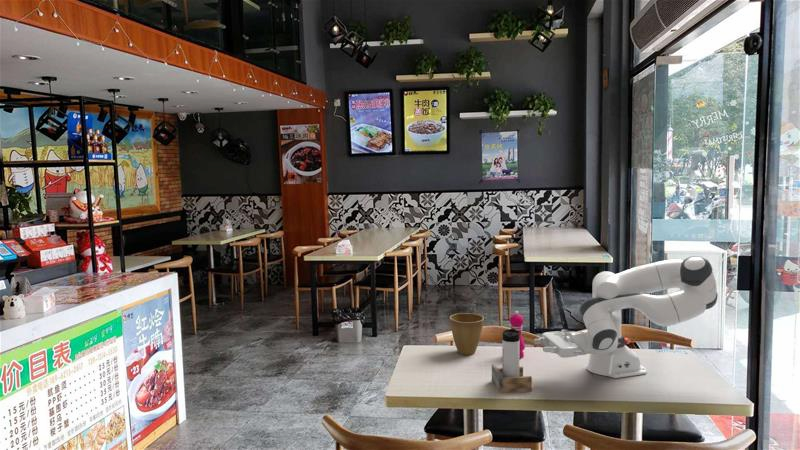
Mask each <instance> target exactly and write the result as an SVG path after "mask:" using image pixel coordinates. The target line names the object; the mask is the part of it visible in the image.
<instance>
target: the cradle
mask: <svg viewBox="0 0 800 450" xmlns="http://www.w3.org/2000/svg"><path fill="white" fill-rule="evenodd" d="M532 377H533V376H531V375H526V376H524V367H523V366H519V377H503V374H502V367H497V365H496V364H495V363H493V364H491V382H492V384H493V385H494V387H495V388H496V390H497V391H498V392H499V394H503V393H520V392H522V393H523V392H532V391H533V388H532V387H533V385H532V384H533V383H532V382H533V381H532V379H533V378H532Z"/></svg>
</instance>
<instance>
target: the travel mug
mask: <svg viewBox="0 0 800 450" xmlns="http://www.w3.org/2000/svg"><path fill="white" fill-rule="evenodd" d="M501 341H502V356H501V357H502V363H501V365H502V367H501V368H502V374H503V377H519V367H520V358H519V344H520V342H519V341H520V340H519V331H517V330H515V329H511V328H510V329H504V330H503V331H502V340H501Z"/></svg>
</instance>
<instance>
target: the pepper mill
mask: <svg viewBox="0 0 800 450" xmlns="http://www.w3.org/2000/svg"><path fill="white" fill-rule="evenodd" d="M509 323H510V329H515V330H517V331H519V340H520V341H519V342H520V344H519V359H522V358H524V357H525V352H524V351H525V349H526V344H525V341H524V339H523V335H522V331H523V324H524V316H522V315H521V314H519V311H518V310H515V311H514V314H512V315H511V316H510V317H509Z"/></svg>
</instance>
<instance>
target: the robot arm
mask: <svg viewBox="0 0 800 450" xmlns="http://www.w3.org/2000/svg"><path fill="white" fill-rule="evenodd" d="M709 261H710V260H708V259H707V258H706V257H704V256H701V255H693V256H688V257H686V258H685V259H683V260H682V259H667V260H660V261H655V262H651V263H647V264H646V263H645V264H643V265H642V264H641V265H638V266H634V267H631V268H630V269H629V268H628V269H626V270H624V271H621V272H618V273H614V272H612V271H607V270H606V271H605V270H604V271H601V272H599V273H597V274H596V275H595V276H594V277H593V279H592V288H591V289H592V290H591V291H592V293H591V295H592V297H591V298H587V299H585V300H584V301H583V302H582V304H581V305H580V307H579V314H580V316H581V319H582V320H583V323H584V324H585V325H584V326H585V327H586V330H587V331H586V332H584V331H571V330H568V329H561V330H560V331H559V330H558V331H557V330H556V331H546V332H543V333H541V337H539V338H535V339H533V343H534V344H535V345H540V344H544V345H546V346H543V347H542V351H543V352H544V353H551V354H557V356H559V357H560V358H574V357H579V356H585V355H588V354H589V359H588V362H587V366H586V369H587V370H588V371H589V372H590V373H592V374H596V375H598V376H599V375H600V376H605V377H609V378H613V379H619V378H627V377H634V376H638V375H639V376H640V375H646V374H647V368H646V367H645V366H643V365H642V364H641V359H640V357H639V355H638V354H637V353H636V352H635V351H634V350H632V349H631V348H630V347H628V346H627V345H629V344H630V343H631V339H630V338H628V337H625V336H623V335H622V310H623V309H624V310H626V309H634V310H637V311H638V312H640V313H642V314H643V315H644V316H645V317H646V318H647V320H649V321H650V322H652V323H654V325H657V326H660V327H671V326H675V325H677V324H681V323H684V322H688V321H689V320H692V319H694V318H697V317H699V316H700V315H702V314H704V313H705V312H706V310H710V309H711V308H713V307H715V305H716V304H717V301H718V297H719V296H718V292H717V291H718V290H717V288H718V287H717V280H716V279H715V275H714V272H713V267H712V264H711V263H710V262H709ZM674 288H675V289H679V290H676V291H673V292H669V293H666V294H660V295H657V294H656V295H655V294H652V293H656V292H661V291H666V290H669V289H674Z"/></svg>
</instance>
